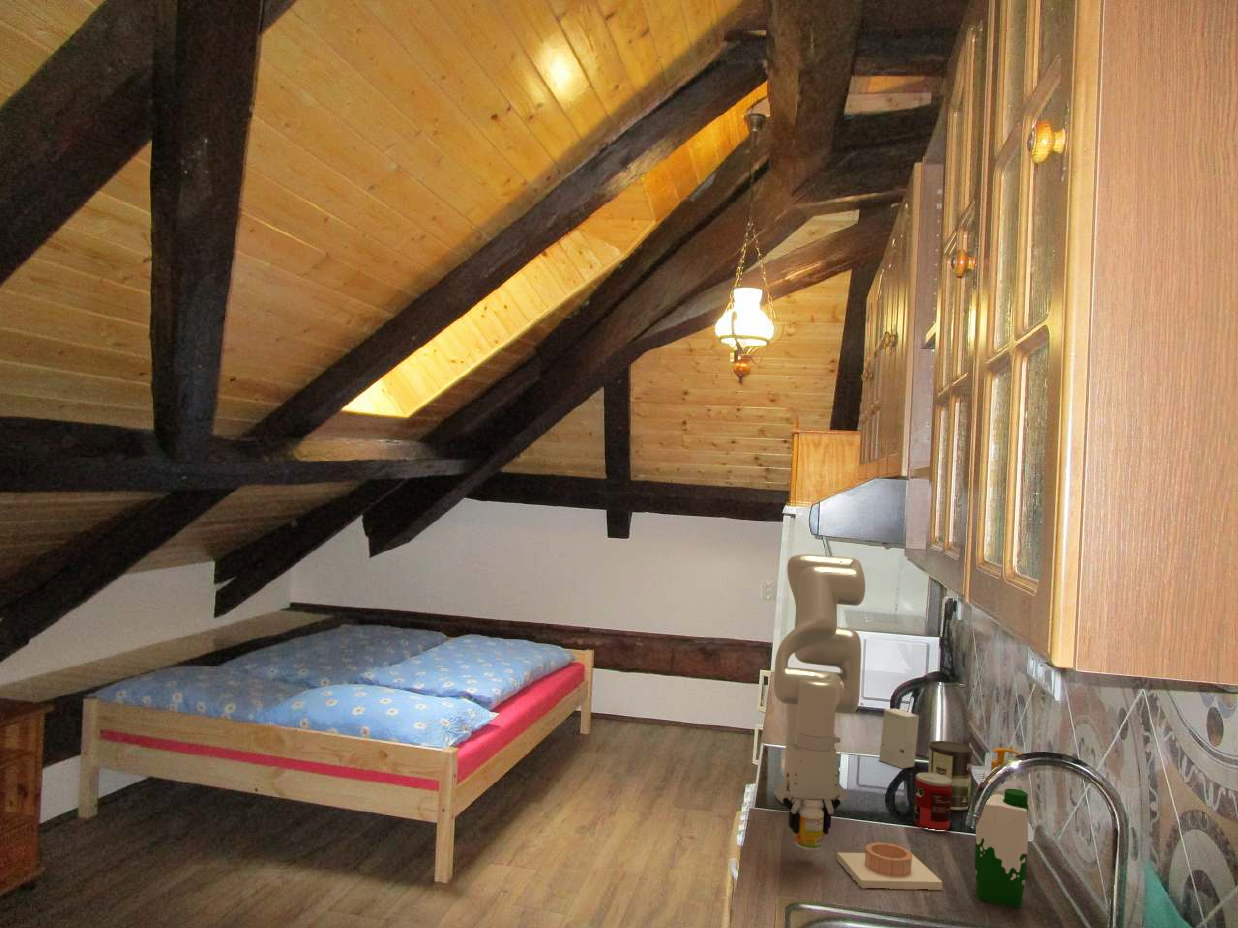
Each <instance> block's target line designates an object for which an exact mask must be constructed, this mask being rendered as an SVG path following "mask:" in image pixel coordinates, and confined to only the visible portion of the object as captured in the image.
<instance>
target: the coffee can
mask: <svg viewBox="0 0 1238 928" xmlns="http://www.w3.org/2000/svg"><path fill="white" fill-rule="evenodd" d="M928 747H929V750H928V751H929V752H928V753H929V754H928V771H927V773H934V774H939V775H943V776H945V777H948V778H949V779H951V780H952V796H951V810H952V811H966V810H969V809H968V806H969V803H970V804H971V791H972V790H971V788H972V787H971V786H972V785H971V784H972V767H973V764H972V763H973V753H974V749H973V748H972V747H971V746H969V745H966V744H963V743H961V742H960V743H958V742H953V741H949V740H948V741H947V740H934V741H930V742H929V744H928Z"/></svg>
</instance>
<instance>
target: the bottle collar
mask: <svg viewBox="0 0 1238 928" xmlns="http://www.w3.org/2000/svg"><path fill="white" fill-rule="evenodd" d="M864 853H865V865H866V866H867V867H868V868H869V869H871V870H873V871H875V872H878V873H880V874H885V875H889V876H905V875H909V874H910V873H911V870H912V854H913V853H912V852H911V851H909V849H906V847H902V846H900V845H897V844H895V843H894V844H893V843H888V842H871V843H869V844H867V845H866V846H865V852H864Z"/></svg>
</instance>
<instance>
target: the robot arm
mask: <svg viewBox="0 0 1238 928" xmlns="http://www.w3.org/2000/svg"><path fill="white" fill-rule="evenodd" d="M786 567H787V569H786V570H787V571H786V572H787V579H788V583H789V587H790V591H791V592H792V595H793V598H794V602H795V619H794V621H795V622H794V628H793V629H792V630H791V631H790V632H789V633H788V634H787V635H786V636H785V637H784V639H783V640H782V641H781V642H780V644H779V646H778V649H777V651H776V655H775V661H774V678H773V692H774V695H775V697H776V699H777V700H778V701H779V702H780V703H783V704H786V714H787V716H786V736H785V755H784V756H785V757H784V772H783V780H782V782H781V783H780V784H779V786H777V788H775V790H774V792H773V793H774V795H775V796H776V797H775V798H776V799H777V800H778V802H780V803H781V804H783V805H785V806H786V808H787V809H788V811H789V812H788V827H789V828H790V829H791V831H792V832H793V833H794V835H795V834H797V833H798V832H799V816H800V815H799V813H798V808H799V806H800V805H802V804H801V800H802V799H806V800H821V806H820V808H822V810H823V811H824V823H823V834H825V835H828V834H829V829H831V822H832V815H833V814H834V812H835V810H836V809H837V808H838V807H839V806H840V805H841V803H843V802H844V801H845V800H847V799H848V797H849V794H848V792H846V790H845V788H844V787H843V786H842V785H841V783H840V779H839V778H840V777H839V761H838V754H837V750H836V748H835V745H836V744H837V743H838V744H840V743H841V735H837V734H835V724H836V723H835V721H836V714H844V715H845V714H849V715H850V714H853V713H855V712H856V711H857V709H858V707H859V703H860V693H861V692H860V691H861V673H862V672H861V669H862V667H861V666H862V665H861V664H862V642H861V641H862V640H861V638H860V635H859V633H858V632H857V631H856V630H855V629H854V628H853V629H852V628H849V627H839V626H838V605H842V606H854V607H857V606H859V605H861V604H862V603H863V601H864V599H865V594H866V593H865V592H866V578H865V574H864V570H863V567H862V563H861V562H860V560H858V559H857V558H854V557H848V556H847V557H846V556H844V557H843V556H832V555H823V554H805V553H804V554H796V555H793V556H791V557H790V558H789V559H788V562H787V566H786ZM792 655H794V656H795V659H797V661H799V662H800V663H802V664H807V665H815V666H825V667H833V668H834V667H835V668H839V669H840V671H841V672H838V671H837V672H836V671H828V670H818V669H811V668H800V667H790V666H789V659H790V657H791V656H792Z"/></svg>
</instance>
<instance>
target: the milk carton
mask: <svg viewBox="0 0 1238 928" xmlns="http://www.w3.org/2000/svg"><path fill="white" fill-rule="evenodd" d="M1028 798H1029V794H1028V793H1027V792H1026V791H1023V790H1021V789H1018V788H1017V789H1005V794H1004V796H1003V795H1000V794H996V795H995V794H993V795H992V796H990V798H989V799H988V800H987V802H986V804H985V806H984V809H983V812H982V815H981V817H980V819H979V821H978V823H977V822H976V823H977V825H976V824H975V825H976V826H975V842H974V843H975V844H974V845H975V846H974V873H975V874H974V875H975V881H976V888H977V896H978V900H979V901H984V902H988V903H993V904H997V905H1001V906H1006V907H1011V908H1015V909H1016V908H1017V909H1021V905H1022V900H1023V896H1024V892H1025V891H1024V890H1025V884H1026V878H1027V868H1028V849H1029V848H1028V847H1029V845H1028V844H1029V824H1028V823H1029V822H1028V821H1029V819H1028V818H1029V815H1028V814H1029V804H1028V800H1029V799H1028Z"/></svg>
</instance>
